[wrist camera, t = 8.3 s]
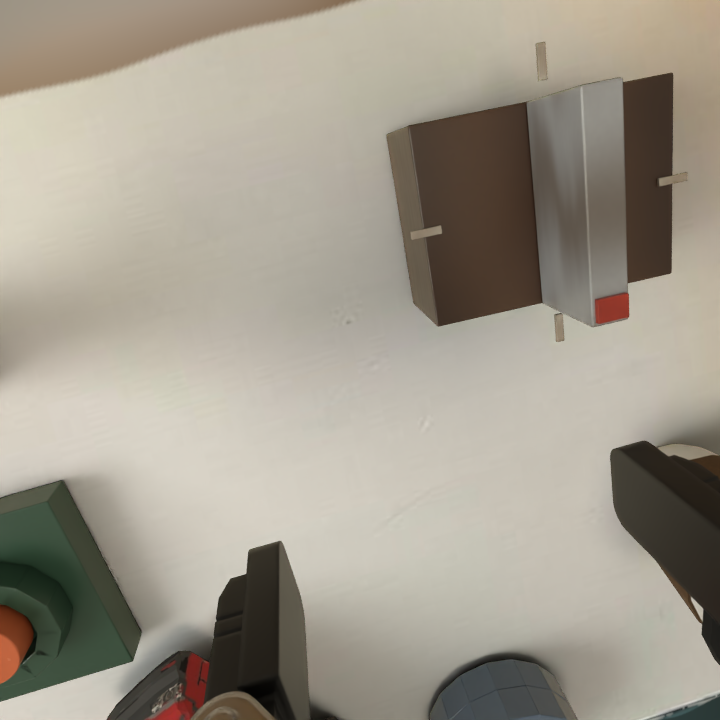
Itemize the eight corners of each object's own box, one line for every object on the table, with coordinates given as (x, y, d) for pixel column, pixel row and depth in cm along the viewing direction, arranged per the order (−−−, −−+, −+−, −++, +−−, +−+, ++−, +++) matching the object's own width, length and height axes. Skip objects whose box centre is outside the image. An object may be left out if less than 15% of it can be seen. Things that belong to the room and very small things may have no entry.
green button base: (-113, 529, 30) (-168, 579, 27) (62, 479, 31) (32, 521, 27) (-11, 679, 34) (-47, 740, 31) (142, 633, 35) (125, 687, 31)
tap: (525, 102, 23) (584, 84, 18) (561, 94, 23) (627, 74, 19) (541, 303, 26) (595, 330, 22) (573, 296, 26) (633, 321, 22)
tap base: (409, 341, 31) (432, 371, 26) (366, 91, 27) (386, 72, 22) (624, 291, 32) (685, 312, 27) (618, 42, 27) (690, 13, 23)
